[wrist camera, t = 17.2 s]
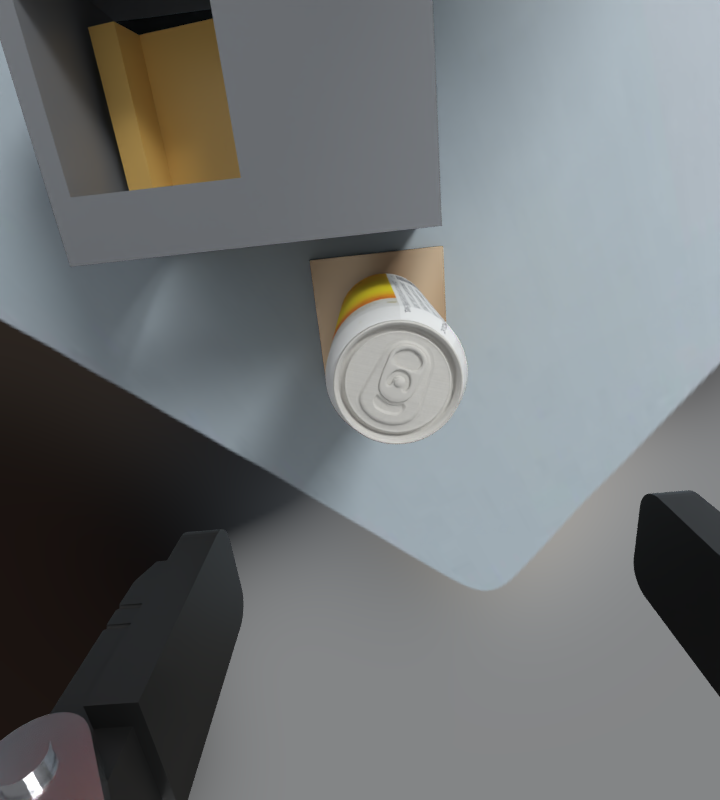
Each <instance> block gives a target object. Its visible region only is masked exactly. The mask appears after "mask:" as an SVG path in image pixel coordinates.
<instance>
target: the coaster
mask: <svg viewBox="0 0 720 800" xmlns="http://www.w3.org/2000/svg"><path fill="white" fill-rule="evenodd" d="M310 268H311V275H312V282H313V290H314V297H315V304H316V312H317V319H318V326H319V334H320V341H321V348H322V356H323V363H324V370H325V371H326V363H327V359H328V355H329V351H330V347H331V344H332V340H333V336H334V332H335V329H336V325H337V321H338V317H339V314H340V310H341V306H342V303H343V301H344V299H345V297H346V295H347V293H348V292H349V291H350V289H351V288H352V287H353V286H354V285H355V284H357V283H358V282H359V281H361V280H362V279H364V278H366V277H369V276H372V275H375V274H384V273H387V274H394V275H398V276H401V277H403V278H405V279H407V280H409V281H410V282H412V283H413V284H414V285H415V286H416V287H417V288H418V289H419V290H420V292H421V293H422V294H423V295H424V296H425V298H426V299H427V300H428V301H429V302H430V304H431V305H432V306H433V307H434V309H435V310H436V311H437V312H438V313H439V315H440V316H441V317H442V318H443V319H444V321H445V322H446V307H445V282H444V258H443V246H437V247H427V248H418V249H409V250H400V251H391V252H381V253H372V254H363V255H354V256H344V257H335V258H326V259H317V260H310Z"/></svg>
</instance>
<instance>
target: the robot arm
mask: <svg viewBox="0 0 720 800" xmlns="http://www.w3.org/2000/svg"><path fill="white" fill-rule="evenodd" d="M634 571H635V576H636V579H637V582H638V585H639V587H640V589H641V591H642V593H643V595H644V596H645V597H646V599H647V600H648V601H649V603H650V604H651V605H652V607H653V608H654V610H655V611H656V612H657V613H658V615H659V616H660V617H661V619H662V620H663V621H664V623H665V624H666V625H667V627H668V628H669V630H670V631H671V632H672V634H673V635H674V636H675V638H676V639H677V640H678V642H679V643H680V644H681V646H682V647H683V648H684V650H685V651H686V652H687V654H688V655H689V656H690V658H691V659H692V660H693V662H694V663H695V664H696V666H697V667H698V668H699V670H700V671H701V672H702V674H703V675H704V676H705V678H706V679H707V680H708V682H709V683H710V684H711V686H712V687H713V688H714V690H715V691H716V692H717V694H718V695H719V696H720V512H719V511H718V510H717V509H716V508H714V507H713V506H712V505H711V504H709V503H708V502H707V501H706V500H705V499H703V498H702V497H701V496H700V495H698V494H697V493H696V492H693V491H689V490H688V491H678V492H677V491H676V492H665V493H653V494H647V495H645V496H644V497H643V499H642V501H641V505H640V512H639V520H638V528H637V536H636V545H635V553H634ZM242 617H243V593H242V588H241V584H240V580H239V576H238V572H237V567H236V564H235V559H234V556H233V551H232V547H231V543H230V539H229V536H228V534H227V532H226V531H225V530H223V529H221V530H209V531H198V532H187V533H184V534H183V535H182V536H181V538H180V539H179V541H178V543H177V545H176V546H175V548H174V550H173V551H172V553H171V555H170V557H169V559H168V560H167V561H158V562H156V563H155V564H154V565H153V566H151V567H150V568H149V569H148V570H147V571H146V572H145V573H144V574H142V575H141V576H140V577H139V578H138V579H137V580H136V581H135V582H134V583H133V584H132V586H131V588H130V589H129V591H128V593H127V594H126V595H125V597H124V599H123V600H122V602H121V603H120V608H119V609H118V610H116V611H115V613H114V614H113V616H112V618H111V619H110V621H109V622H108V624H107V629H106V630H103V632H102V633H101V635H100V636H99V638H98V639H97V641H96V643H95V644H94V646H93V647H92V649H91V651H90V652H89V654H88V655H87V657H86V658H85V660H84V662H83V663H82V664H81V666H80V668H79V669H78V671H77V673H76V674H75V675H74V677H73V679H72V680H71V682H70V683H69V685H68V686H67V688H66V690H65V691H64V693H63V694H62V696H61V697H60V699H59V701H58V702H57V704H56V705H55V707H54V709H53V710H52V711H51V713H50V714H49V715H45V716H43V717H40V718H37V719H35V720H33V721H31V722H29V723H27V724H25V725H23V726H21V727H20V728H18V729H17V730H15V731H13V732H12V733H11V734H9V735H8V736H6V737H5V738H4V739H2V740H1V741H0V800H188V797H189V794H190V791H191V787H192V784H193V781H194V778H195V774H196V771H197V768H198V764H199V761H200V758H201V754H202V751H203V748H204V745H205V741H206V738H207V735H208V732H209V728H210V725H211V722H212V718H213V715H214V712H215V708H216V705H217V702H218V699H219V696H220V692H221V689H222V685H223V682H224V679H225V676H226V672H227V669H228V666H229V663H230V659H231V656H232V652H233V650H234V646H235V643H236V640H237V636H238V633H239V630H240V627H241V623H242Z"/></svg>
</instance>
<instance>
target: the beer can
mask: <svg viewBox="0 0 720 800" xmlns="http://www.w3.org/2000/svg"><path fill="white" fill-rule="evenodd" d="M467 376H468V369H467V360H466V356H465V352H464V349H463V347H462V344H461V342H460V341H459V339H458V337H457V336H456V334H455V333H454V332H453V330H452V329H451V328H450V327H449V325H448V324H447V323H446V322H445V321H444V319H443V318H442V317H441V316H440V315H439V313H438V312H437V311H436V310H435V309H434V307H433V306H432V305H431V304H430V302H429V301H428V300H427V299H426V298H425V296H424V295H423V294H422V293H421V292H420V290H419V289H418V288H417V287H416V286H415V285H414V284H413V283H412V282H410V281H409V280H407V279H405V278H403V277H401V276H398V275H394V274H387V273H384V274H375V275H372V276H369V277H366V278H364V279H362V280H361V281H359V282H358V283H357V284H355V285H354V286H353V287H352V288H351V289H350V291H349V292H348V293H347V295H346V297H345V299H344V301H343V303H342V306H341V310H340V314H339V317H338V321H337V325H336V329H335V332H334V336H333V340H332V344H331V347H330V351H329V355H328V359H327V363H326V371H325V380H326V388H327V391H328V395H329V398H330V400H331V403H332V405H333V406H334V408H335V410H336V411H337V413H338V414H339V415H340V417H341V418H342V419H343V420H344V421H345V422H346V423H347V424H348V425H349V426H351V427H352V428H354V429H355V430H356V431H358V432H359V433H360V434H362V435H364V436H365V437H367V438H370V439H372V440H374V441H378V442H381V443H387V444H406V443H412V442H416V441H419V440H421V439H424V438H426V437H428V436H430V435H432V434H433V433H435V432H436V431H438V430H439V429H440V428H442V427H443V426H444V425H445V424H446V423H447V422H448V420H449V419H450V418H451V417H452V415H453V414H454V412H455V410H456V408H457V407H458V405H459V403H460V401H461V399H462V397H463V394H464V392H465V388H466V384H467Z"/></svg>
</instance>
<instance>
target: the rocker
mask: <svg viewBox="0 0 720 800" xmlns="http://www.w3.org/2000/svg"><path fill="white" fill-rule="evenodd" d="M88 30H89V34H90V38H91V42H92V46H93V50H94V54H95V58H96V61H97V65H98V69H99V73H100V77H101V81H102V85H103V89H104V93H105V97H106V101H107V105H108V109H109V113H110V117H111V121H112V125H113V129H114V133H115V137H116V141H117V145H118V149H119V153H120V157H121V160H122V164H123V168H124V172H125V176H126V180H127V184H128V188H129V191H131V190H139V189H148V188H157V187H165V186H174V185H182V184H191V183H200V182H208V181H217V180H225V179H234V178H241V176H240V170H239V164H238V158H237V153H236V147H235V141H234V136H233V130H232V124H231V118H230V113H229V107H228V101H227V96H226V90H225V84H224V78H223V73H222V67H221V61H220V56H219V50H218V44H217V38H216V33H215V27H214V21H213V18H212V19H208V20H203V21H199V22H195V23H190V24H186V25H181V26H177V27H173V28H168V29H164V30H160V31H155V32H151V33H146V34H142V35H138V34H136V33H134V32H133V31H131V30H129V29H127V28H125V27H123V26H121V25H120V24H118V23H116V22H114V21H113V22H109V23H104V24H100V25H96V26H92V27H88Z"/></svg>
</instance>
